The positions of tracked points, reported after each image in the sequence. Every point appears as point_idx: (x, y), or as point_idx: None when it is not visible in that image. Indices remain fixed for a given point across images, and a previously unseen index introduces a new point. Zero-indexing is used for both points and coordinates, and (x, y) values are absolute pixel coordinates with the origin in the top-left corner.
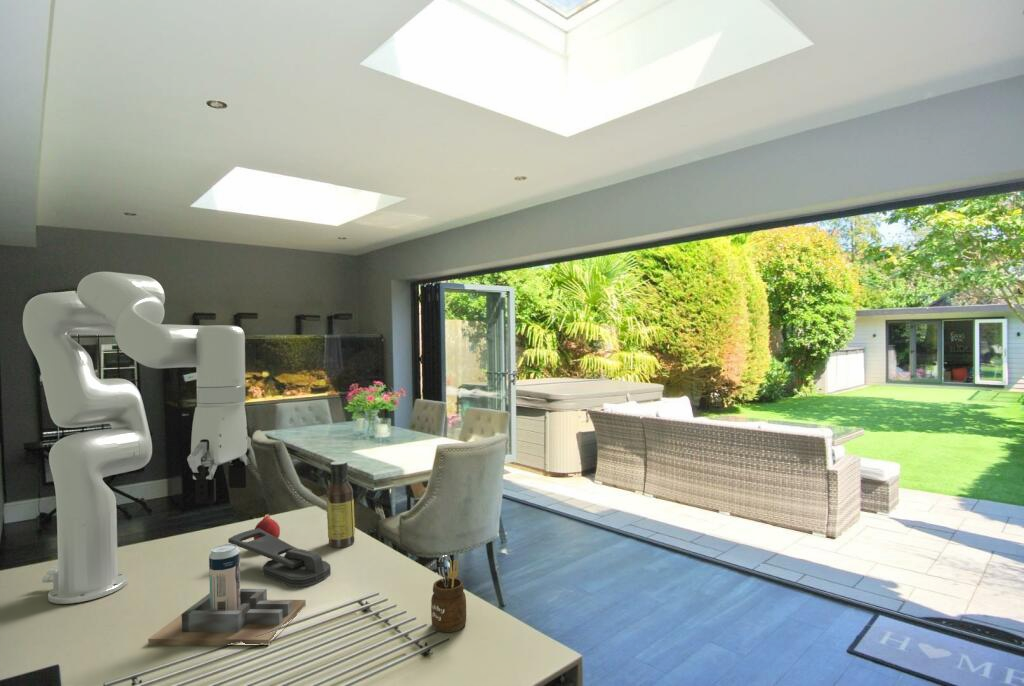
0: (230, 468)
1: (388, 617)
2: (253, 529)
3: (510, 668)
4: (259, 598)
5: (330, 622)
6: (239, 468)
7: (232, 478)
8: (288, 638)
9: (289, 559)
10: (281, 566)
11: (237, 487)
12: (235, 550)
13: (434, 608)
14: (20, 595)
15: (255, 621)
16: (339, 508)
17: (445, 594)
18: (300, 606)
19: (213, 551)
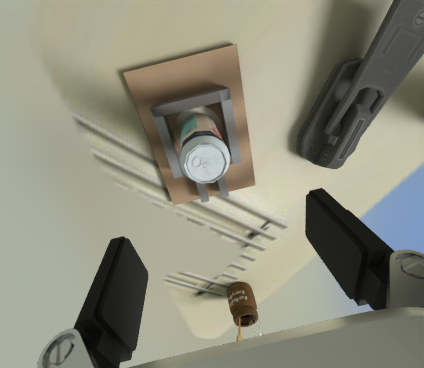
0: (354, 253)
1: (242, 254)
2: None
3: (198, 326)
4: None
5: (225, 222)
6: (348, 282)
7: (324, 225)
8: (190, 208)
9: (346, 114)
10: (340, 100)
11: (306, 217)
12: (209, 181)
13: (231, 302)
14: None
15: None
16: None
17: (233, 319)
18: (242, 187)
19: (185, 159)
